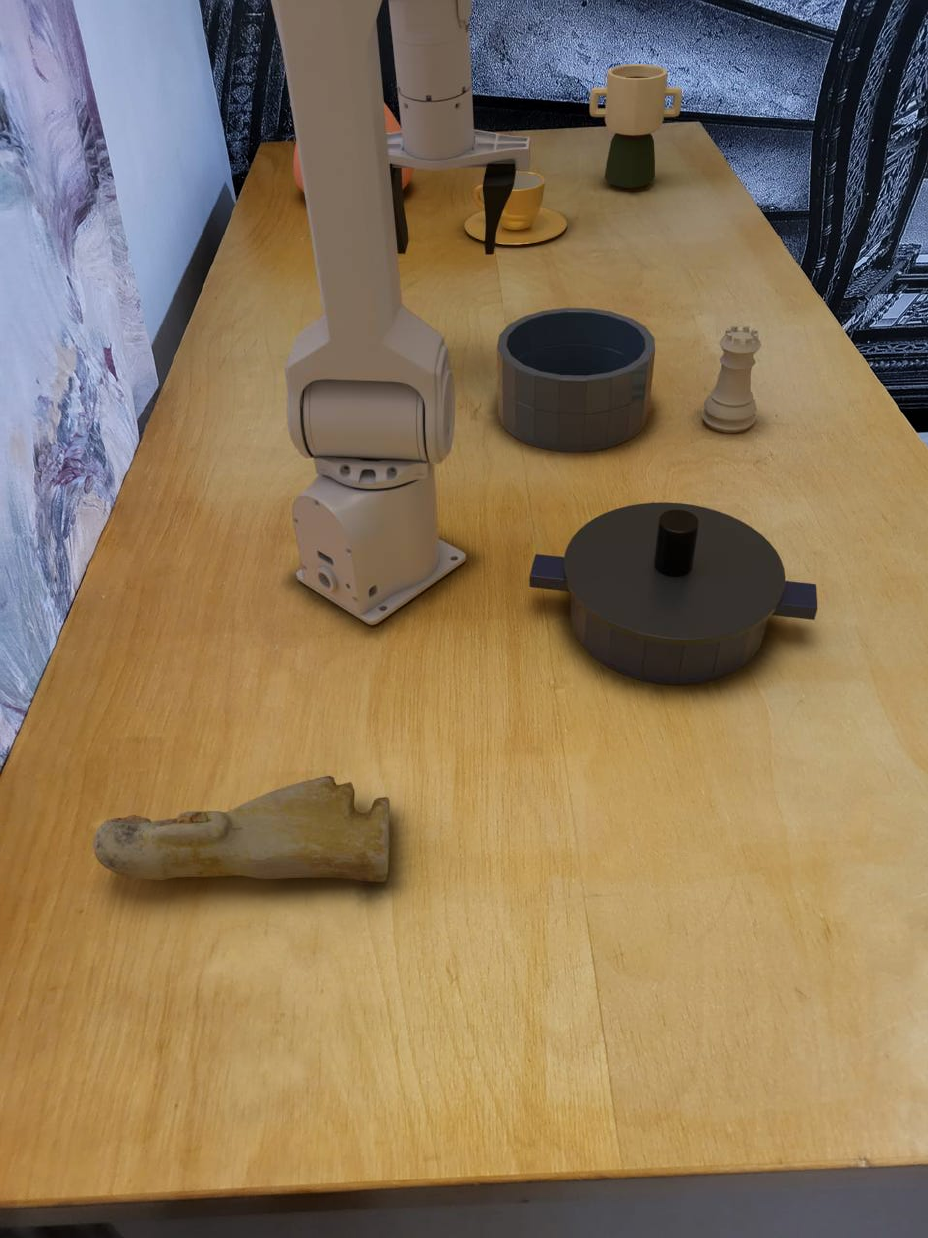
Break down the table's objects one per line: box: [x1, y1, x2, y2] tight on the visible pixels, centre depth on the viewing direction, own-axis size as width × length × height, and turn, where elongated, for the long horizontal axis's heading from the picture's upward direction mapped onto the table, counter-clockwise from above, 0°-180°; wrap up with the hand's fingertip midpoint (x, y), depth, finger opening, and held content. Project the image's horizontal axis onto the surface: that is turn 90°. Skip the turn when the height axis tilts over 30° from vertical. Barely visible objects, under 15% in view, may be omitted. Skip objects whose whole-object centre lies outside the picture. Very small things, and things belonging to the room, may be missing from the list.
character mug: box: [589, 63, 683, 189], centre depth 124 cm, size 11×7×13 cm, turn 83°
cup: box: [464, 171, 568, 245], centre depth 116 cm, size 12×12×5 cm
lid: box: [563, 501, 786, 645], centre depth 63 cm, size 14×14×5 cm
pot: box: [496, 307, 656, 453], centre depth 84 cm, size 13×13×6 cm
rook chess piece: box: [701, 324, 762, 434], centre depth 82 cm, size 4×4×8 cm
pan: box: [528, 553, 818, 686], centre depth 65 cm, size 13×18×4 cm
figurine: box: [92, 775, 391, 883], centre depth 52 cm, size 5×5×15 cm
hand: (446, 247), depth 87 cm, fingers open, 7 cm apart
